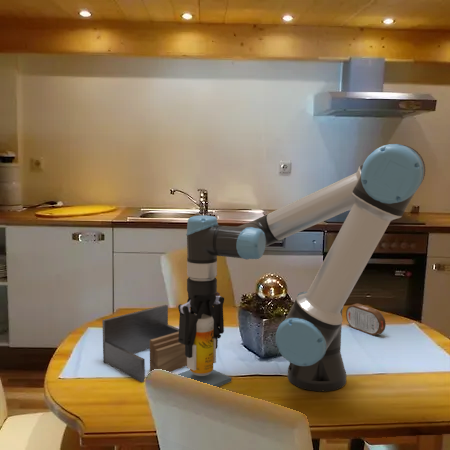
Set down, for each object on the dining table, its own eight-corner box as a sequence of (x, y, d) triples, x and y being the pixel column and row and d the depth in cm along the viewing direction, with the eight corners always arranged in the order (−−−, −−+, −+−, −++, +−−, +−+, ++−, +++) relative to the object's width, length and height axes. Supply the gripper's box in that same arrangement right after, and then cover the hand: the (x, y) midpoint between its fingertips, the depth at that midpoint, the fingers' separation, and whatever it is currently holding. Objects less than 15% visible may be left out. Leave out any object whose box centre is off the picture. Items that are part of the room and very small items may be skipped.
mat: (231, 381, 139) (231, 377, 139) (199, 394, 132) (199, 390, 132) (203, 368, 147) (203, 364, 147) (171, 380, 140) (171, 376, 140)
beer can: (210, 377, 136) (210, 320, 133) (187, 375, 137) (186, 318, 135) (215, 368, 142) (216, 313, 139) (193, 366, 143) (193, 311, 141)
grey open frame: (205, 359, 153) (206, 319, 151) (141, 382, 138) (141, 337, 136) (165, 342, 166) (165, 304, 165) (103, 361, 151) (102, 320, 150)
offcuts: (190, 365, 150) (190, 333, 148) (158, 376, 142) (157, 343, 141) (181, 361, 152) (181, 330, 151) (149, 372, 145) (149, 339, 143)
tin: (385, 337, 173) (387, 311, 172) (379, 339, 172) (380, 313, 170) (350, 324, 186) (351, 300, 184) (343, 325, 184) (344, 301, 183)
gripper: (219, 269, 145) (218, 351, 148) (162, 280, 132) (163, 370, 135) (239, 274, 139) (238, 359, 143) (181, 286, 126) (182, 380, 130)
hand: (201, 364), depth 139 cm, fingers closed on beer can, 6 cm apart
